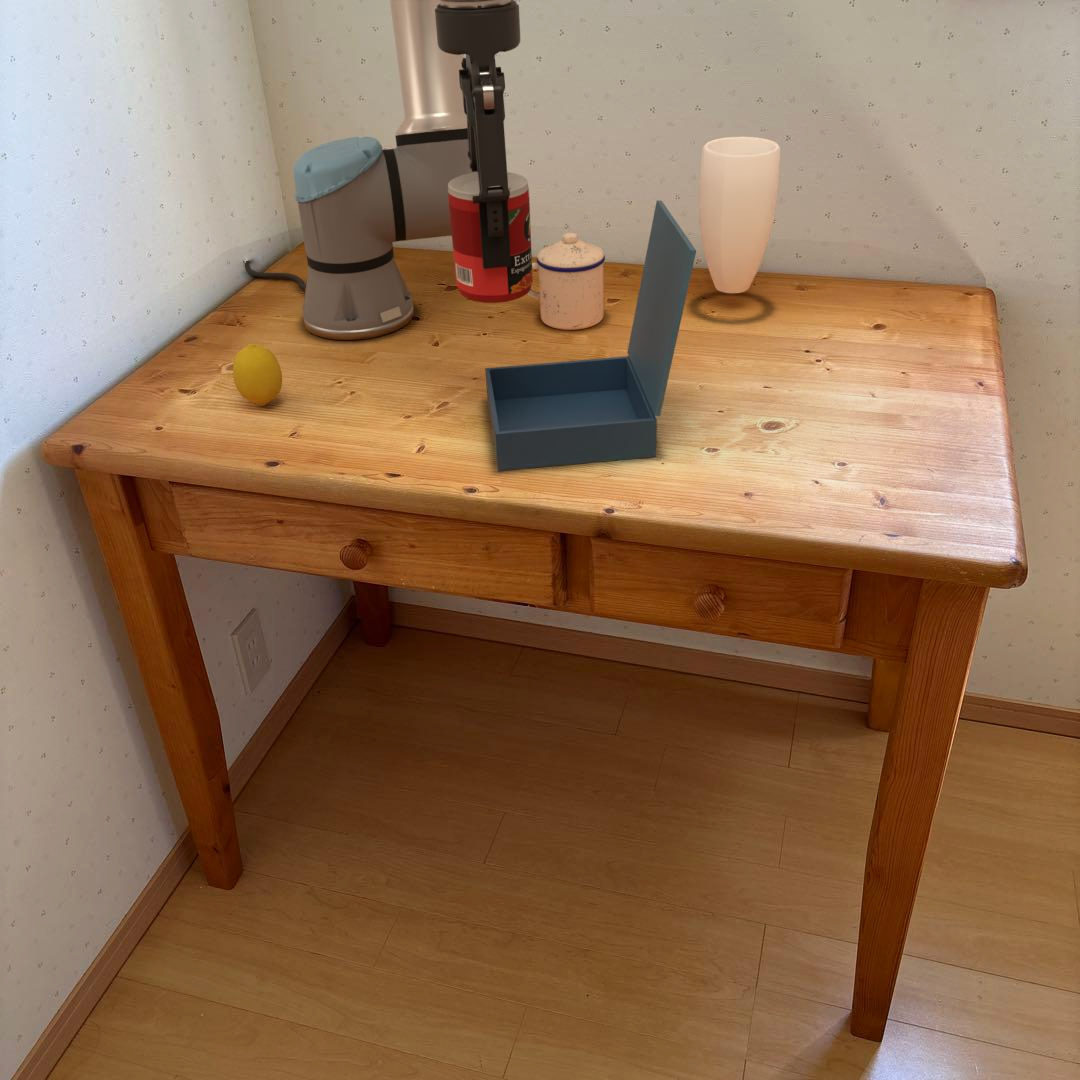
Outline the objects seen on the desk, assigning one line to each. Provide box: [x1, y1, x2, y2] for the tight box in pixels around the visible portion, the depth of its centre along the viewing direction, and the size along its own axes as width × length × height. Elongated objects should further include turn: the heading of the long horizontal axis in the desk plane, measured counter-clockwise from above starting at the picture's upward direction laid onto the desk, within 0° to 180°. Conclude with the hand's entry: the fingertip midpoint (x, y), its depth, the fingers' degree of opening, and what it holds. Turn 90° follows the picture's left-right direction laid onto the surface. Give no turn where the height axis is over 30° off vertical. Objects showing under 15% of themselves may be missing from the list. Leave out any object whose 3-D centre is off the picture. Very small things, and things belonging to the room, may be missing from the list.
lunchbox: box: [484, 355, 658, 472], centre depth 117 cm, size 17×16×4 cm
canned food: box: [448, 171, 534, 304], centre depth 105 cm, size 8×8×11 cm
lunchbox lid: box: [627, 199, 697, 417], centre depth 111 cm, size 18×16×1 cm
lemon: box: [232, 342, 283, 407], centre depth 124 cm, size 6×6×8 cm
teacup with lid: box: [526, 232, 606, 331], centre depth 141 cm, size 12×9×12 cm
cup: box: [698, 136, 781, 294], centre depth 139 cm, size 10×10×22 cm
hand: (492, 251), depth 106 cm, fingers closed on canned food, 8 cm apart
